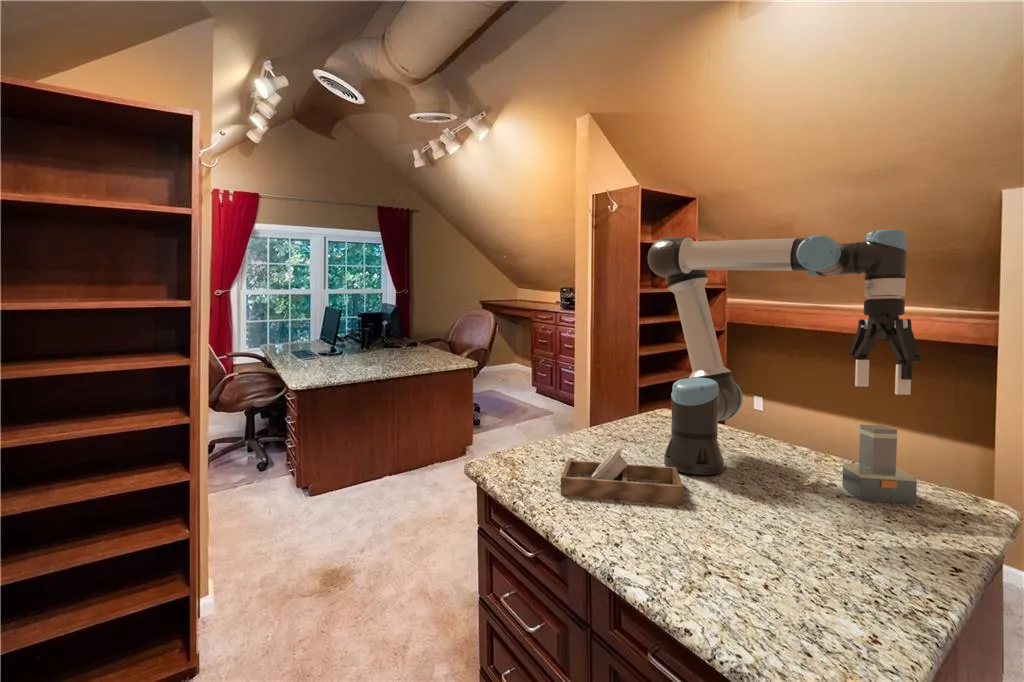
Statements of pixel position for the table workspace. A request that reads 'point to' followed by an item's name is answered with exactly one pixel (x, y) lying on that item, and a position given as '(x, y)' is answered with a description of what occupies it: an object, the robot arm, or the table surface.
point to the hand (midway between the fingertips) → (880, 390)
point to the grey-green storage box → (879, 485)
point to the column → (878, 448)
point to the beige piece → (610, 466)
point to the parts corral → (624, 483)
